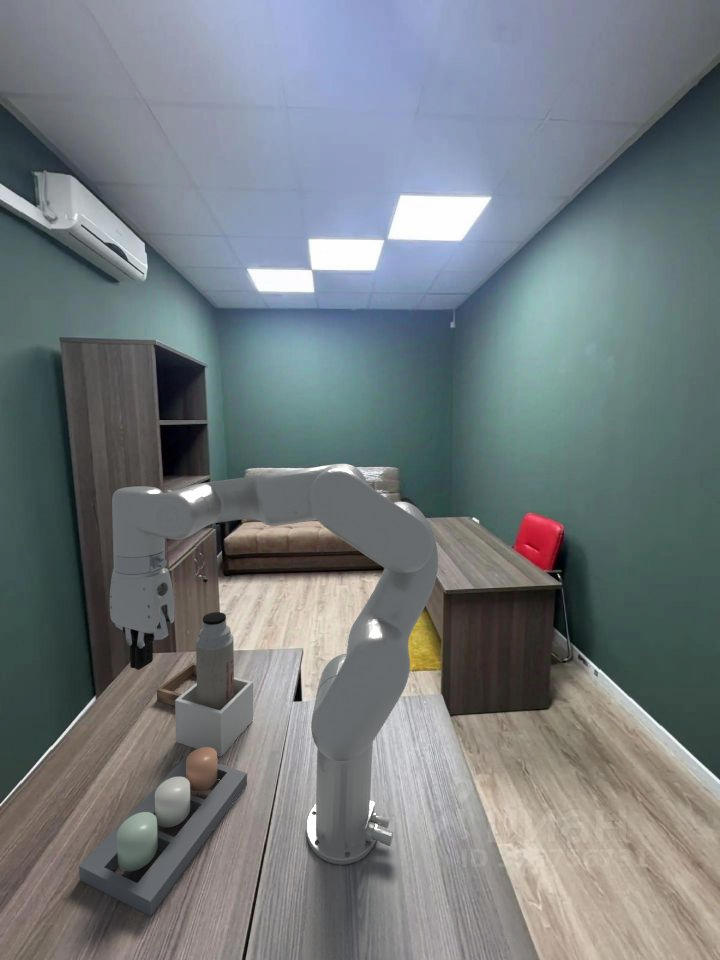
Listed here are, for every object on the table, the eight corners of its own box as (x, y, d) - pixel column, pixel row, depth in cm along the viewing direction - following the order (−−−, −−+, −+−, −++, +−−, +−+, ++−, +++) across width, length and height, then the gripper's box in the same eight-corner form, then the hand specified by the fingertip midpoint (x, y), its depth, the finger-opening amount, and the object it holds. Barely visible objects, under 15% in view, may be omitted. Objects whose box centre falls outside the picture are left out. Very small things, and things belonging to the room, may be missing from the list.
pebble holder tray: (246, 784, 83) (246, 773, 83) (151, 916, 60) (150, 901, 60) (189, 764, 87) (188, 753, 87) (79, 880, 65) (78, 865, 65)
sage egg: (165, 842, 68) (164, 818, 68) (137, 877, 63) (136, 851, 62) (138, 831, 70) (137, 807, 70) (109, 863, 65) (108, 838, 64)
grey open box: (252, 720, 101) (253, 681, 100) (221, 756, 90) (221, 713, 88) (211, 708, 105) (210, 670, 103) (176, 741, 93) (175, 700, 92)
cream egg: (197, 804, 75) (196, 782, 75) (174, 832, 70) (173, 808, 70) (172, 794, 77) (171, 772, 77) (147, 821, 72) (147, 798, 71)
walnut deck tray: (232, 682, 115) (232, 672, 115) (199, 713, 103) (199, 702, 102) (193, 672, 119) (192, 662, 119) (156, 700, 107) (156, 689, 106)
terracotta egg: (223, 772, 82) (223, 751, 82) (204, 795, 77) (204, 773, 77) (200, 763, 84) (199, 743, 84) (179, 786, 79) (179, 765, 78)
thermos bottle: (240, 721, 100) (239, 610, 97) (222, 746, 93) (221, 626, 89) (209, 716, 102) (208, 606, 98) (190, 740, 94) (188, 621, 90)
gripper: (192, 562, 70) (192, 664, 73) (125, 549, 76) (128, 644, 78) (156, 576, 63) (158, 688, 66) (86, 560, 69) (89, 665, 71)
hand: (141, 664), depth 72 cm, fingers closed
